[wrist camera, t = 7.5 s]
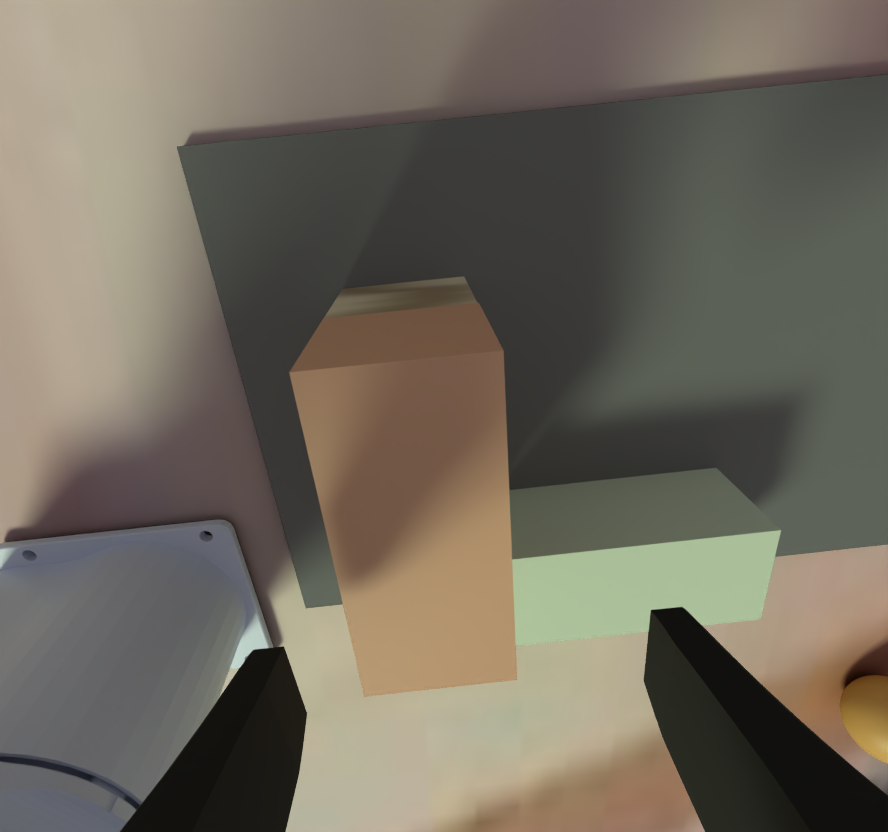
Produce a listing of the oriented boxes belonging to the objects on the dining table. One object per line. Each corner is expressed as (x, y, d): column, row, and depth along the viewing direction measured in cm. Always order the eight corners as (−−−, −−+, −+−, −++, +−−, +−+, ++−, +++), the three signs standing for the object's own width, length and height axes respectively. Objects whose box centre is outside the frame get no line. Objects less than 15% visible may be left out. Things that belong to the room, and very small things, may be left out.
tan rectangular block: (374, 585, 17) (364, 696, 13) (323, 318, 13) (289, 372, 10) (494, 572, 17) (517, 679, 13) (479, 302, 13) (503, 350, 10)
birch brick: (381, 514, 21) (375, 586, 17) (342, 288, 17) (322, 320, 13) (481, 503, 21) (495, 573, 17) (463, 276, 17) (477, 303, 13)
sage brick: (497, 569, 22) (513, 646, 19) (492, 491, 20) (509, 560, 17) (703, 546, 22) (760, 619, 19) (716, 467, 21) (781, 529, 17)
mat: (307, 601, 23) (305, 608, 22) (182, 147, 15) (176, 146, 15) (883, 538, 23) (891, 544, 23) (1047, 59, 15) (1062, 56, 15)
